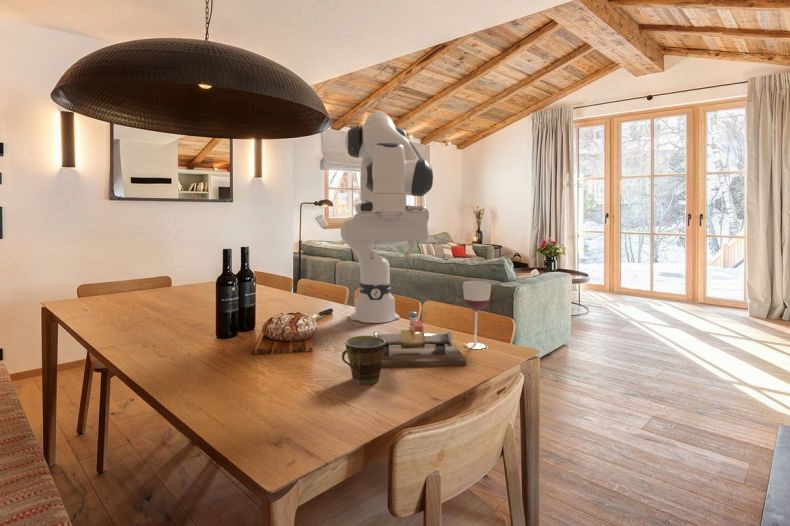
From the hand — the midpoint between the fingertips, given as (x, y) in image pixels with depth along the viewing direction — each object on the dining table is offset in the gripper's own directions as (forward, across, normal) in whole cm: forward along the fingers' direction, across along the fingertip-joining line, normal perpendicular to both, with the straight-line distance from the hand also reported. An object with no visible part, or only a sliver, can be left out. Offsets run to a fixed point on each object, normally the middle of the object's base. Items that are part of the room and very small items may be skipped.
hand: (389, 258), depth 119 cm
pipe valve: (+28, -7, -8) cm, 30 cm away
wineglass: (+29, -28, -18) cm, 44 cm away
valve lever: (+20, -7, -2) cm, 21 cm away
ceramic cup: (+30, +7, +9) cm, 32 cm away
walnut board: (+29, -7, -8) cm, 31 cm away
